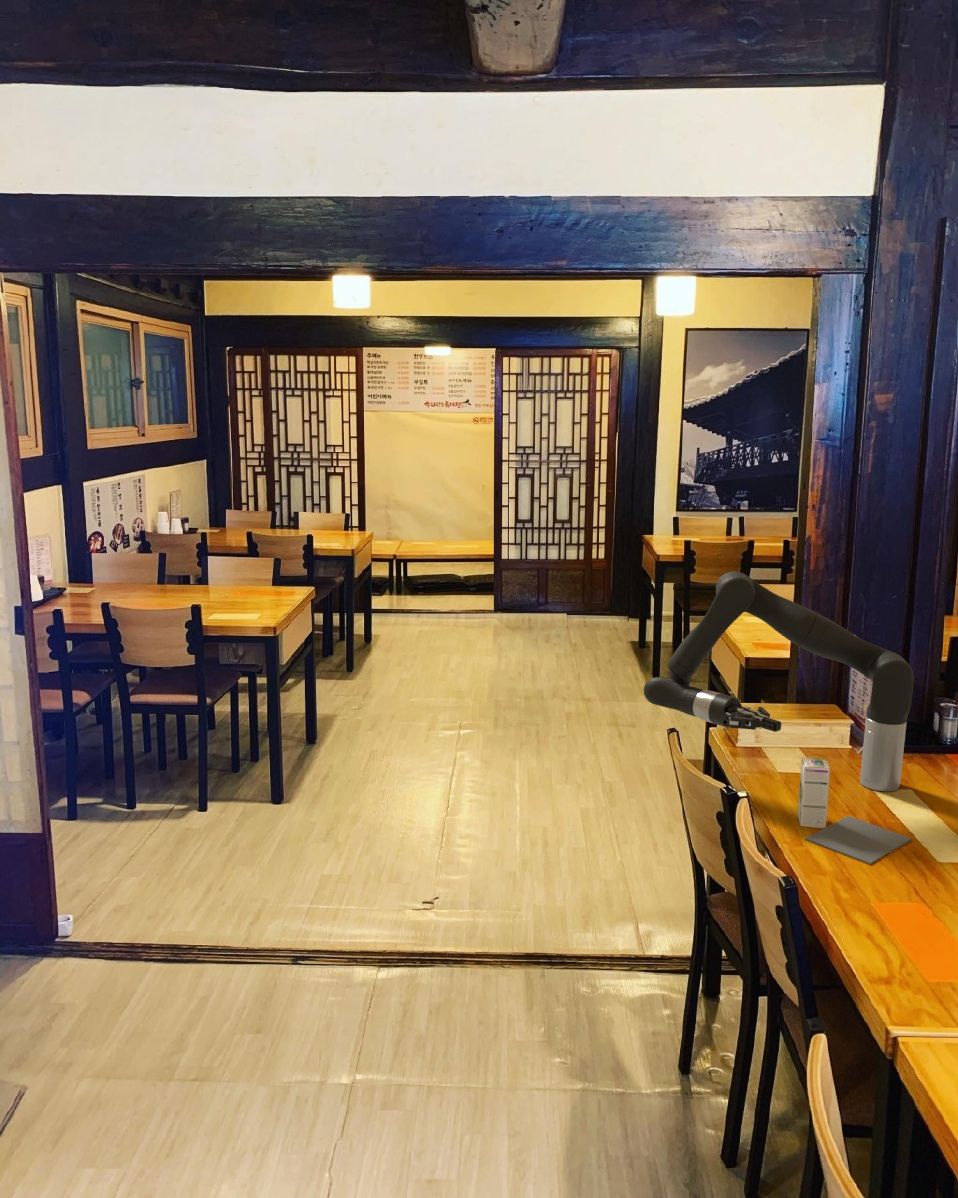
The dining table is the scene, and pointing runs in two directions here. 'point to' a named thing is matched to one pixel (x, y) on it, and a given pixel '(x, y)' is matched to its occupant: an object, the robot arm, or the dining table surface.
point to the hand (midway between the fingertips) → (779, 727)
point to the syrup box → (813, 792)
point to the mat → (858, 839)
